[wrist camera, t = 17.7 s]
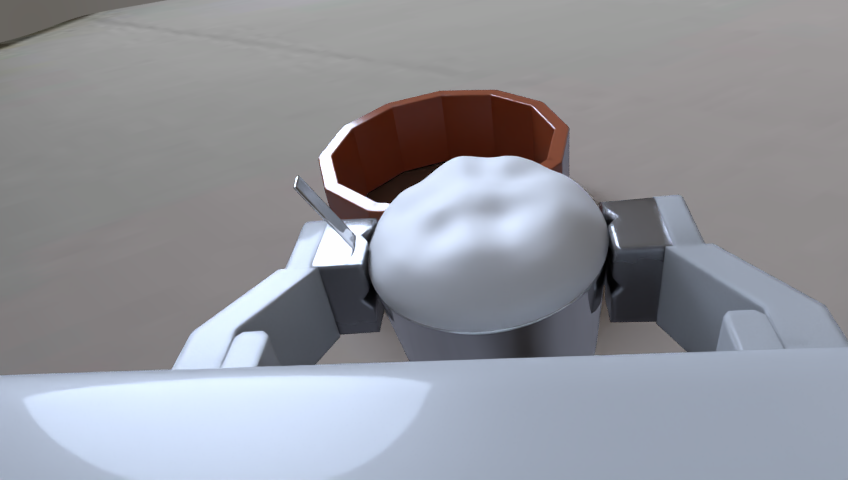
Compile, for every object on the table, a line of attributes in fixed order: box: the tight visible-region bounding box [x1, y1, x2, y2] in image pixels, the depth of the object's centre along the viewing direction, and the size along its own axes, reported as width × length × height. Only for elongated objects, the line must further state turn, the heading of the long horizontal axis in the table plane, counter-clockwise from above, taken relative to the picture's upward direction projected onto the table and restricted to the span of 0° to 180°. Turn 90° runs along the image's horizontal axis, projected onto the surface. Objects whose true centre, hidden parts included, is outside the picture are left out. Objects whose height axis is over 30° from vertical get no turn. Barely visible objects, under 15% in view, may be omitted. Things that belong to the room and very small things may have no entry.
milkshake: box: [294, 156, 609, 362], centre depth 13 cm, size 4×5×10 cm
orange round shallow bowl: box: [318, 90, 569, 221], centre depth 25 cm, size 10×10×4 cm
